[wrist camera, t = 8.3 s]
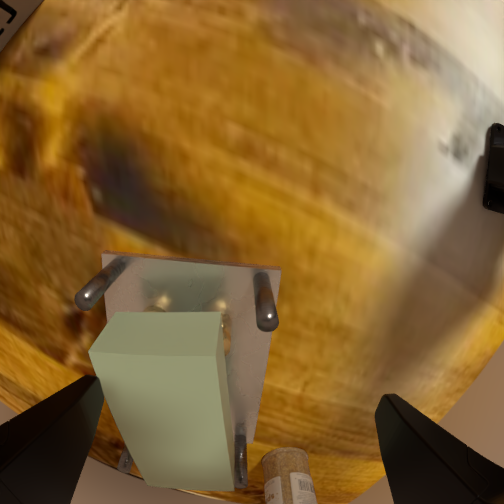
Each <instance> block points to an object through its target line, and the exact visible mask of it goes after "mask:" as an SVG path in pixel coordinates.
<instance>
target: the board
mask: <svg viewBox="0 0 504 504" xmlns="http://www.w3.org/2000/svg"><path fill="white" fill-rule="evenodd" d="M88 352H89V355H90V358H91V361H92V364H93V367H94V370H95V373H96V375H97V377H98V378H99V379H100V382H101V386H102V390H103V394H104V396H105V399H106V401H107V404H108V406H109V409H110V411H111V413H112V416H113V418H114V420H115V422H116V425H117V427H118V429H119V431H120V433H121V436H122V438H123V440H124V442H125V444H126V446H127V448H128V450H129V452H130V454H131V456H132V458H133V460H134V462H135V464H136V466H137V468H138V469H139V471H140V473H141V475H142V477H143V479H144V480H145V482H146V484H147V485H148V486H155V487H163V488H173V489H185V490H202V491H234V468H235V447H234V439H233V430H232V421H231V412H230V403H229V393H228V384H227V374H226V363H225V352H224V341H223V330H222V318H221V312H115V314H114V315H113V316H112V318H111V319H110V321H109V322H108V323H107V325H106V326H105V328H104V329H103V331H102V332H101V334H100V335H99V336H98V338H97V339H96V341H95V342H94V344H93V345H92V347H91V348H90V350H89V351H88Z"/></svg>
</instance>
